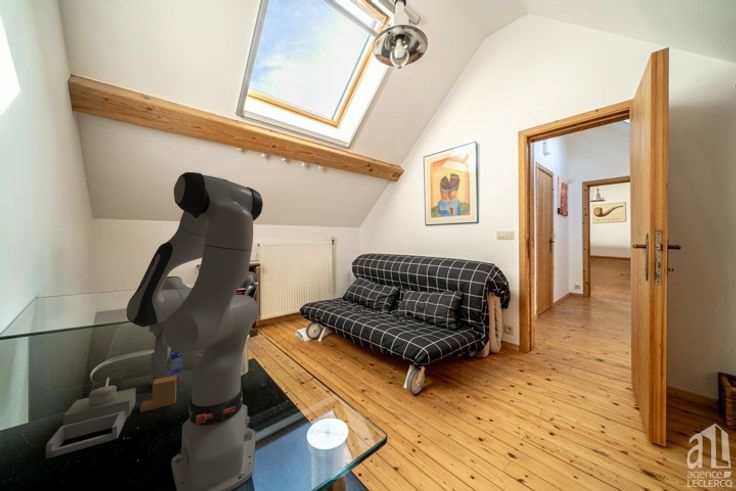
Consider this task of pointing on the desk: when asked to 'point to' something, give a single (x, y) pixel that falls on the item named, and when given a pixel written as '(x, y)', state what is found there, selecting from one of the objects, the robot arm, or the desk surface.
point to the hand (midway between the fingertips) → (164, 364)
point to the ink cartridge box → (168, 367)
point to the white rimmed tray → (93, 419)
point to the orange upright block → (161, 394)
